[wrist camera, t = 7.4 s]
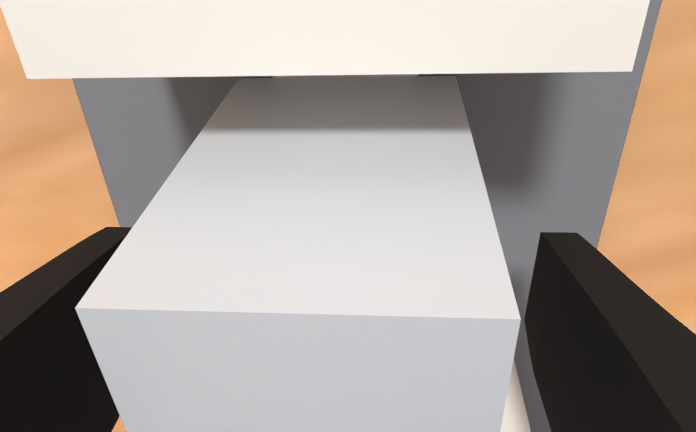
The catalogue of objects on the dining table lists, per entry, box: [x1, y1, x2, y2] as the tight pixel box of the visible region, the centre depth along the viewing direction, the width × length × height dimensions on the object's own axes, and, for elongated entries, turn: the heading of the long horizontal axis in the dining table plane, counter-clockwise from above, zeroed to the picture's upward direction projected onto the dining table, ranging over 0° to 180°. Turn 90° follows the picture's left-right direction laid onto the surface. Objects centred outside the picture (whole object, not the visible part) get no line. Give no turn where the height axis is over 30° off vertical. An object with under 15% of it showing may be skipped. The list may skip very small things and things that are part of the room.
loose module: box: [75, 76, 521, 432], centre depth 10 cm, size 5×4×7 cm
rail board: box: [72, 0, 662, 432], centre depth 13 cm, size 26×12×1 cm, turn 2°
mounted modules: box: [0, 0, 650, 432], centre depth 11 cm, size 16×8×4 cm, turn 2°
